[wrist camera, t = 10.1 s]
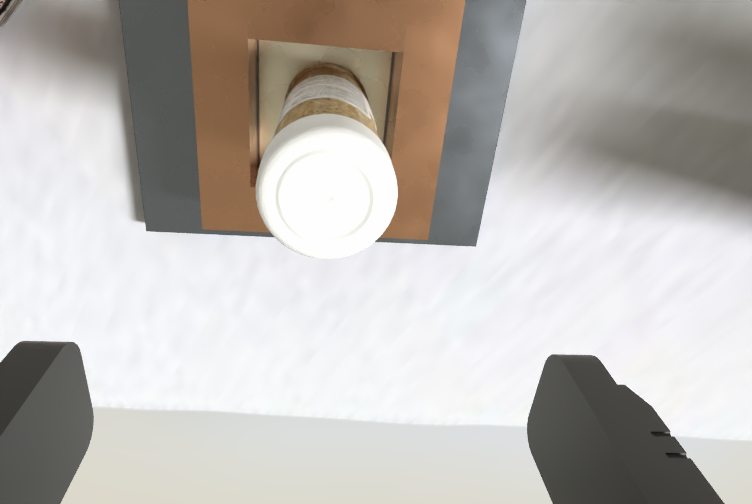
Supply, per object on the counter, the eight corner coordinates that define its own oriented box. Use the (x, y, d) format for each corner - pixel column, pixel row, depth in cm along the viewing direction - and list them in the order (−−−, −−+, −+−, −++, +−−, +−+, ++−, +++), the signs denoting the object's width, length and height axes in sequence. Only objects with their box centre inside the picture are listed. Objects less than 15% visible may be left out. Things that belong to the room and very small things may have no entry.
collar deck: (527, -41, 27) (563, -44, 23) (471, 239, 34) (491, 274, 30) (115, -89, 24) (75, -101, 20) (151, 223, 32) (126, 259, 28)
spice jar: (350, 158, 30) (366, 280, 18) (272, 128, 29) (234, 238, 17) (382, 81, 28) (423, 160, 16) (300, 45, 27) (280, 103, 15)
